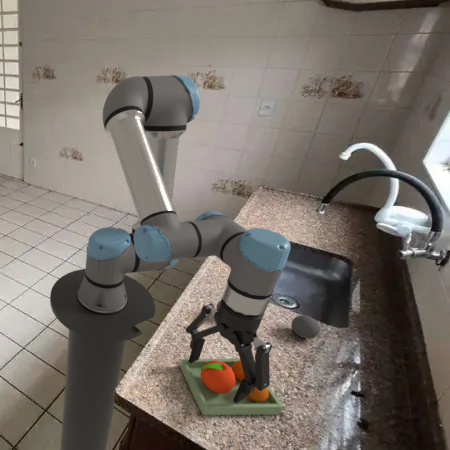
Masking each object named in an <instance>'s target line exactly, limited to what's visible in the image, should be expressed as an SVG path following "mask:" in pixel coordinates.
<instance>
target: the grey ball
mask: <svg viewBox="0 0 450 450" xmlns="http://www.w3.org/2000/svg"><path fill="white" fill-rule="evenodd" d="M290 326H291V329H292V331H293V333H294V334H295V335H297V336H298V337H300V338H302V339H306V340H307V339H314V338H316V337H317V336H318V335H319V334H320V331H321V326H320V324H319V322H318V320H317V319H315V318H313V317H312V316H309V315H297V316H296V317H294V318H293V319H292V321H291V324H290Z"/></svg>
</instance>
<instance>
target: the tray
mask: <svg viewBox="0 0 450 450" xmlns="http://www.w3.org/2000/svg"><path fill="white" fill-rule="evenodd" d="M238 360H240V358H199V360H197V361H195V362H193V363H190V362H188V361H189V358H182V359H181V361H180V364H179V368H180V370H181V372H182V374H183V376H184V378H185V381H186V383H187V385H188V387H189V389H190V391H191V393H192V396H193V398H194V400H195V402H196V404H197V406H198V409H199V410H200V413H201V414H202V415H201V416H233V415H234V416H236V415H237V416H240V415H241V416H242V415H244V416H246V415H248V416H249V415H250V416H251V415H252V416H253V415H254V416H255V415H256V416H257V415H270V416H271V415H281V412H282V411H283V409H284V406H283V404H282V402H281V401H280V399H279V398H278V397H277V396H276V394H275V392H274V391H273V389H272V388H271V387H270V385H269V386H268V387H267V388H268V391H269V396H268V398H267V399H266V400H265V401H263V402H255V401H252V400H251V399H249V398H248V397H247V396H245V398H244V399H243V400H241V401H240V402H238V403H235V402H234V401H233V399H234V397H235V395H236V392H237V390H238V388H239V385H240V383H241V380H239V379H237V378H236V377H235V386H234V387H233V389H232V390H231V391H230V392H228V393H225V394H218V393H214V392H212V391H210V390H209V389H208V388H207V387H206V386H205V385H204V384H203V382H202V380H201V375H200V374H201V370H199V369H200V368H201V367H203V365H204V364H206V363H207V362H209V361H221V362H223V363H225V364H227V365H228V366H229V367H230V368H231V369H232V365H233V363H234V362H236V361H238ZM198 370H199V371H198Z"/></svg>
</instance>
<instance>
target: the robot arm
mask: <svg viewBox="0 0 450 450" xmlns="http://www.w3.org/2000/svg"><path fill="white" fill-rule="evenodd" d="M200 96H201V95H200V91H199V88H198V85H197V84H196V82H195V81H194V80H193V79H192V78H191V77H189V76H186V75H177V74H176V75H175V74H170V75H151V76H150V75H149V76H145V75H144V76H140V75H136V76H130V77H126V78H124V79H122V80H121V81H120V82H118V83H117V84H115V86H114V87H113V88H112V89H111V90H110V92H109V93H108V95H107V96H106V99H105V101H104V105H103V107H102V108H103V109H102V124H103V128H104V130H105V134H106V135H107V137H109V138H111V139H112V143H113V145H114V148H115V151H116V154H117V157H118V160H119V163H120V166H121V169H122V172H123V175H124V179H125V181H126V182H125V183H126V185H127V188H128V190H129V194H130V197H131V200H132V203H133V206H134V210H135V212H136V215H137V218H138V219H137V221H135V222H134V223H132V226H131V232H130V233H129V232H128V231H127V230H125V229H124V228H120V227H115V226H106V227H101V228H99V229H96V230H94V231H93V232H92V233H91V235H90V236H89V237H88V241H87V245H86V257H85V259H86V260H85V268H84V269H85V276H84V278H83V280H82V283H81V284H80V286H79V288H78V293H77V298H78V301H79V303H80V304H81V306H83V307H84V308H85V309H86V310H88V311H90V312H92V313H95V314H100V315H113V314H116V313H119V312H121V311H122V310H123V309H124V308H125V306H126V303H127V294H126V289H125V285H124V276H125V275H126V274H131V273H142V272H151V271H152V272H153V271H156V272H157V271H162V270H166V269H171V268H173V267H174V266H176V264H177V263H178V262H179V260H183V259H184V260H185V259H195V258H205V257H206V258H207V257H217V258H218V259H219V260H220V261H222V263H224V264H225V265H227V266H228V267H229V268H230V271H229V275H228V277H227V281H226V285H225V287H224V289H223V292H222V297H221V299H220V300H221V301H220V300H219V301H220V304H219V307H218V310H217V309H216V308H215V304H214V303H212V302H210V303H208V304H206V305H204V306H202V307H201V310H200V313H199V314H198V315H197V317H195V318H194V319H193V321H191V322H190V324H189V325H188V326H187V327H186V328H185V332H186V333H187V334H189V335H190V336H191V340H190V343H189V348H190V349H191V351H190V354H189V358H188V359H189V361H188V362H190V363H193V362H195V361H197V360H199V359H200V357H201V354H202V351H203V349H204V345H205V342H206V339H205V338H206V337H208V336H211V335H214V334H217V333H219V335H220V337H222V338H224V339H226V340H227V341H228V342H229V343H230V344H231V345H233V346H234V349H235V352H236V353H238V357H239V359H240V361H241V365H242V368H243V372H244V375H245V379H243V380H242V381H241V383H240V385H239V388H238V390H237V392H236V395H235V397H234V399H233V401H234V402H235V403H238V402H240V401H241V400H243V399H244V398H245V396H246V395H247V396H248V395H250V394H251V393H253V391H254V389H255V387H256V388H257V389H258V390H259V391H262V390H264V389H265V388H267V387H268V386H269V387H270V385H271V377H270V376H271V375H270V352H271V350H272V348H273V344H272V343H271V342H269V341H266V342H264V341H263V340H261V339H260V338H258V333H257V332H258V330H259V328H260V325H261V323H262V321H263V318H264V316H265V312H266V311H267V308H268V306H269V303H270V301H271V299H272V297H273V293H274V292H275V291H274V290H275V287H276V286H277V284H278V281H279V279H280V278H281V275H282V273H283V272H284V270H285V268H286V266H287V263H288V259H289V255H290V252H291V249H292V248H291V247H292V246H291V242H290V241H289V239H288V238H287V237H285V236H284V235H283V234H281V233H279V232H275V231H272V230H271V229H267V228H261V227H253V228H249V229H247V228H245V227H244V226H242V225H241V224H239V223H238V222H236V221H234V219H232V218H231V217H230V216H227V215H225V214H224V213H222V212H219V211H217V210H207V211H205V212H204V213H201V214H199V215H198V216H196V218H195V219H194V220H191V221H189V220H188V221H181V220H180V218H179V216H178V214H177V211H176V208H175V205H174V204H173V195H174V188H175V187H174V186H175V185H174V184H175V176H176V168H177V157H178V151H179V142H180V140H179V139H180V137H181V136H182V135H184V133H185V132H186V131H187V126H188V124H189V123H191V122H192V121H194V120H195V119H196V117H197V115H198V113H199V110H200V105H201V97H200ZM211 317H213V319H214V321H215V324H216V325H213V326H210V327H208V328H205V329H202V330H200V331H199V330H198V329H199V328H200V327H201V326H202V325H203V324H204V323H205V322H206V321H207V320H208V319H209V318H211ZM253 345H254V348H253ZM252 349H253V350H252ZM253 351H254V352H255V354H254V353H253Z"/></svg>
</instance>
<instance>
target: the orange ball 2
mask: <svg viewBox="0 0 450 450" xmlns="http://www.w3.org/2000/svg"><path fill="white" fill-rule="evenodd" d="M246 396H247V395H246ZM268 396H269V391H268V388H265V389H264V390H262V391H259V390H258V389H257V388H256V387H255V389H254V391H253V393H251V394H250V395H248V396H247V397H248V398H249V399H251V400H252V401H255V402H263V401H265V400H266V399H267V398H268Z"/></svg>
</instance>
